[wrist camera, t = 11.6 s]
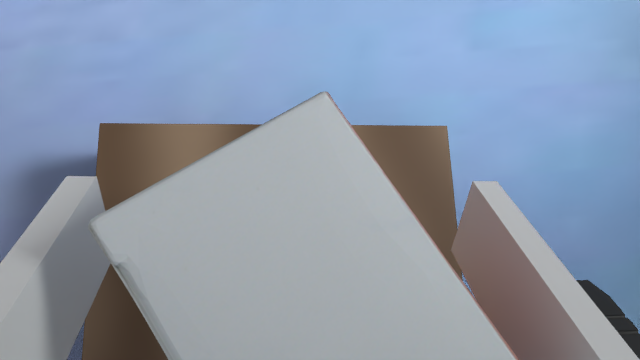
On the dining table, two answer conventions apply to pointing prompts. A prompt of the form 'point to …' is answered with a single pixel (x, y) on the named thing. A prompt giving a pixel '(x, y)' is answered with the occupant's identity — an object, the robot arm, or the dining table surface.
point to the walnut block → (201, 139)
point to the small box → (291, 255)
